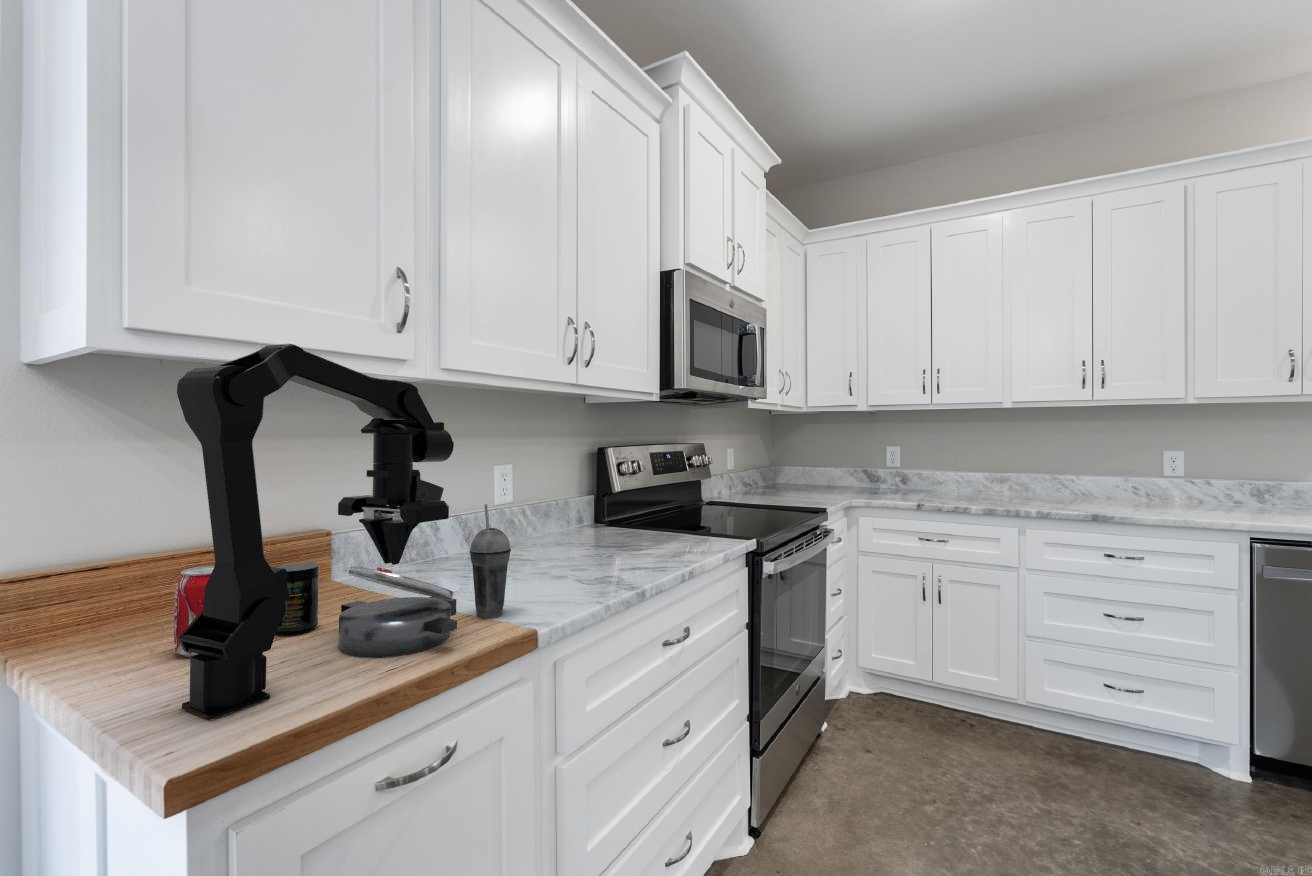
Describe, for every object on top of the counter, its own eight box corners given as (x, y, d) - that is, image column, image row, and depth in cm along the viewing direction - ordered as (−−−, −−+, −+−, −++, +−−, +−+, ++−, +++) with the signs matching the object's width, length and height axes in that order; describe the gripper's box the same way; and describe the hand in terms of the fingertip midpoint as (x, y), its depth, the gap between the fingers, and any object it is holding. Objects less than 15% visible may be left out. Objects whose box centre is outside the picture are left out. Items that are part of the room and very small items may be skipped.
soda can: (201, 661, 82) (202, 575, 82) (160, 657, 83) (161, 573, 84) (246, 644, 89) (247, 565, 89) (207, 641, 90) (208, 563, 90)
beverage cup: (519, 613, 107) (520, 503, 107) (487, 623, 101) (489, 506, 101) (491, 606, 111) (492, 500, 111) (459, 616, 104) (461, 503, 105)
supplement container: (322, 631, 96) (323, 567, 96) (273, 640, 91) (274, 573, 91) (314, 621, 101) (315, 560, 101) (267, 629, 96) (268, 565, 96)
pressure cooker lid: (397, 580, 83) (402, 564, 84) (325, 568, 90) (331, 554, 91) (472, 603, 96) (476, 590, 96) (404, 591, 103) (408, 579, 104)
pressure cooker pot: (403, 669, 80) (404, 636, 80) (301, 642, 90) (301, 612, 90) (495, 632, 96) (496, 604, 96) (399, 612, 106) (400, 587, 106)
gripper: (475, 463, 94) (474, 560, 94) (396, 461, 103) (395, 550, 103) (419, 465, 84) (417, 574, 84) (336, 462, 93) (335, 561, 93)
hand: (391, 563), depth 91 cm, fingers closed
